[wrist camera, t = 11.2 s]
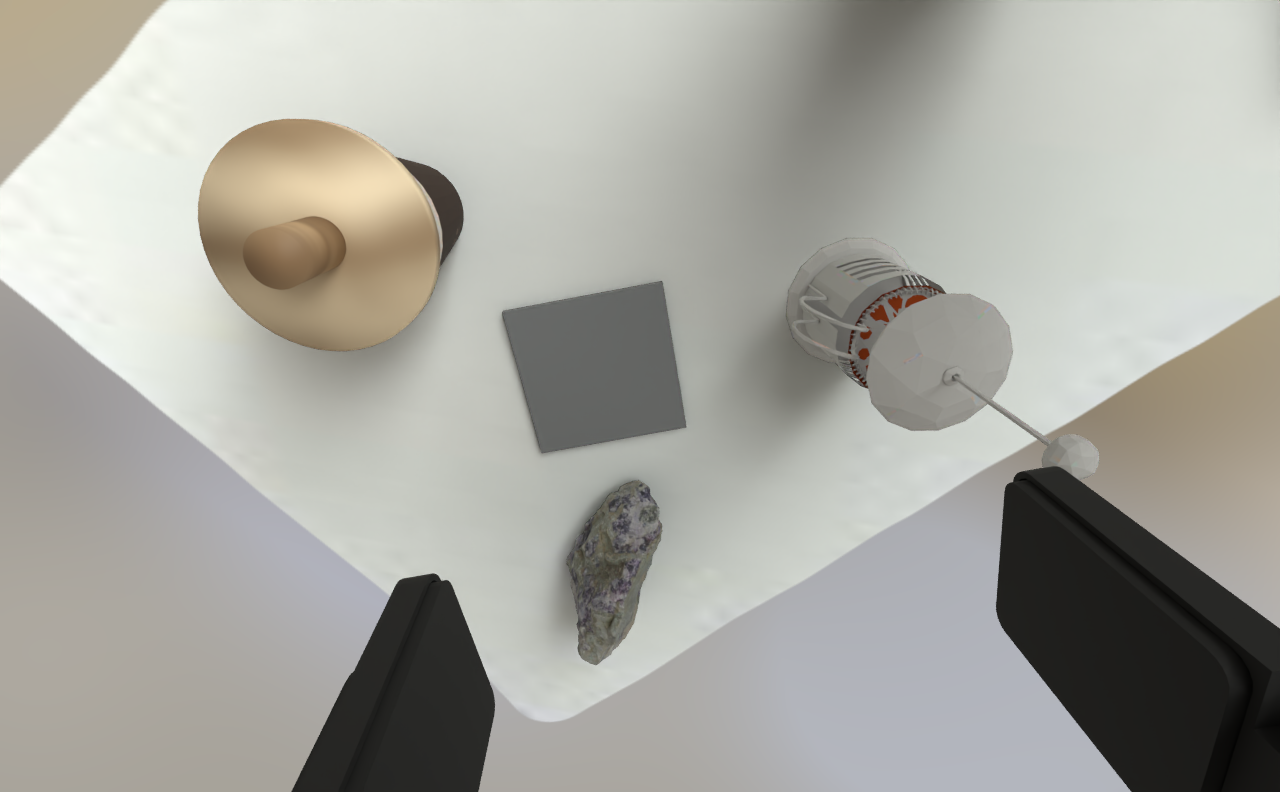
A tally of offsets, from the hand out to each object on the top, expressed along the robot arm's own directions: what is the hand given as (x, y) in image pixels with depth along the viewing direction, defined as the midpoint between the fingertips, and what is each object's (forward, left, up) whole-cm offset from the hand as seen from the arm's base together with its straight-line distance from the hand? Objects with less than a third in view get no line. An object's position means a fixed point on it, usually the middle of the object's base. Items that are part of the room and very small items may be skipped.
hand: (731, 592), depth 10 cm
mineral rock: (+26, -6, -37) cm, 45 cm away
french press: (+7, +14, -36) cm, 40 cm away
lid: (-5, -17, -26) cm, 32 cm away
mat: (+9, -5, -36) cm, 38 cm away
